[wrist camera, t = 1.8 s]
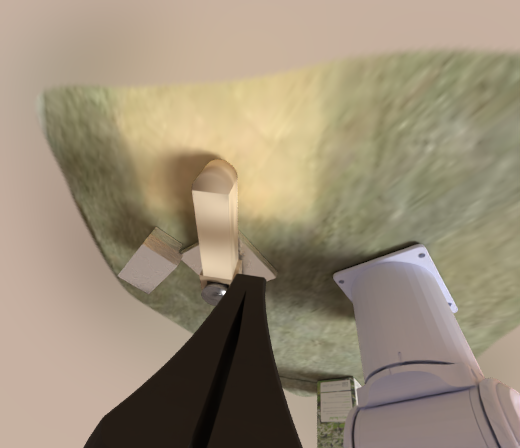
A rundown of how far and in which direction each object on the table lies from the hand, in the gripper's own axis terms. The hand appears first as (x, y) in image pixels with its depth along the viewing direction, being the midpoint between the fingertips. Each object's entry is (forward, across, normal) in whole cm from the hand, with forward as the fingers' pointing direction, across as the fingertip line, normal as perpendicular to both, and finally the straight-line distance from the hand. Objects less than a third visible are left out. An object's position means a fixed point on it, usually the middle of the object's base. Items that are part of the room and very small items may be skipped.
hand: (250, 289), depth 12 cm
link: (+9, +4, +4) cm, 11 cm away
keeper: (+10, +9, +6) cm, 15 cm away
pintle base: (+10, +4, +9) cm, 14 cm away
